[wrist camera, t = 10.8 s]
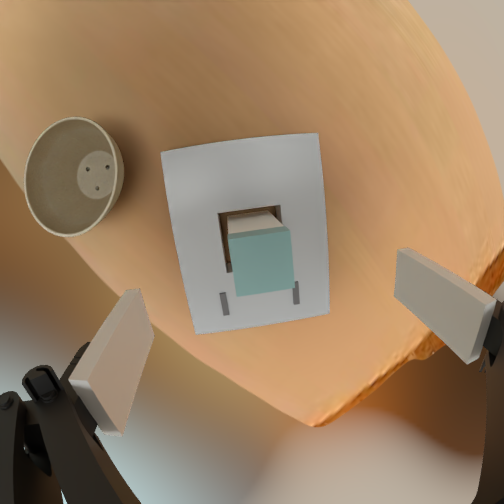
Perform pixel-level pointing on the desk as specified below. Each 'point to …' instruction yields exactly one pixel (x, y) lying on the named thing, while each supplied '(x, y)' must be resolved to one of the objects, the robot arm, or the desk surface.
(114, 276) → the desk surface
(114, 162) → the flower pot
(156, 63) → the desk surface
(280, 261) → the block
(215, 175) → the outlet plate
